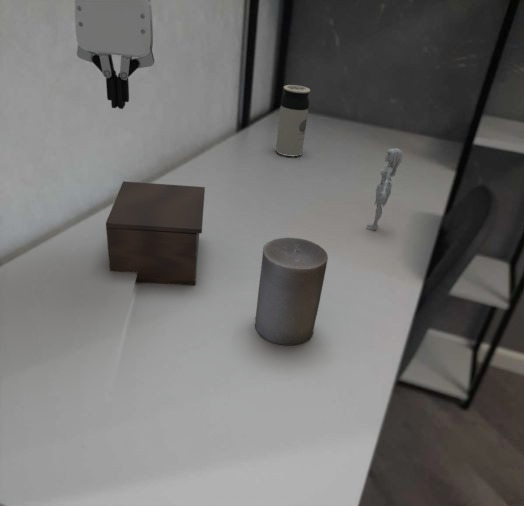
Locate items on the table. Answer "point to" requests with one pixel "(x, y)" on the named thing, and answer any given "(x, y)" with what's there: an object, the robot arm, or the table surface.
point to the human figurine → (386, 183)
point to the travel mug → (292, 120)
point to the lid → (158, 207)
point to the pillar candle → (289, 290)
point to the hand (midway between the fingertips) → (118, 106)
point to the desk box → (154, 255)
